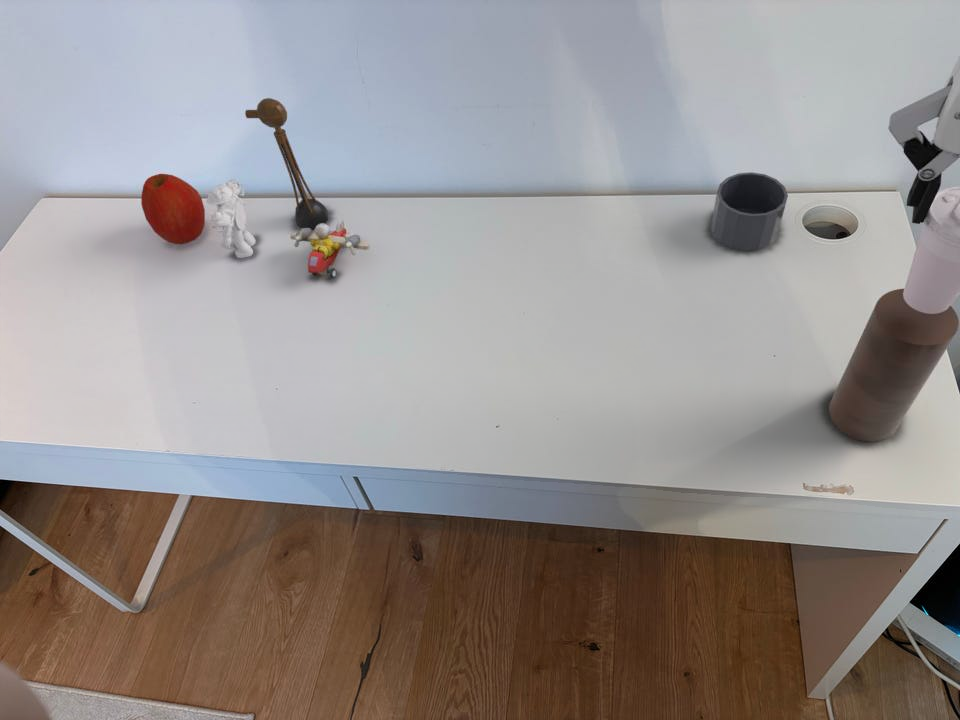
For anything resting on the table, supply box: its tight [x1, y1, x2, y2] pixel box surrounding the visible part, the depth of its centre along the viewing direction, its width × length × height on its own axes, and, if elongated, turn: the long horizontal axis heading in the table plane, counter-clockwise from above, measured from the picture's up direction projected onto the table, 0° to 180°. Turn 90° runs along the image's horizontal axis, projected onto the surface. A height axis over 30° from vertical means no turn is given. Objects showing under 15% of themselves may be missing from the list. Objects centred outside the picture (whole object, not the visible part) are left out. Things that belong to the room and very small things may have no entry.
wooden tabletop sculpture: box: [244, 97, 329, 231], centre depth 100 cm, size 6×5×20 cm
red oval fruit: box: [140, 173, 206, 245], centre depth 105 cm, size 8×8×11 cm
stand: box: [828, 288, 960, 443], centre depth 71 cm, size 7×7×16 cm
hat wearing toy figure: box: [206, 178, 257, 259], centre depth 101 cm, size 9×4×12 cm, turn 178°
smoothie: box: [903, 186, 960, 314], centre depth 58 cm, size 6×6×14 cm
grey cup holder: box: [710, 171, 789, 252], centre depth 94 cm, size 8×8×6 cm
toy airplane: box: [289, 218, 371, 279], centre depth 100 cm, size 9×9×6 cm
